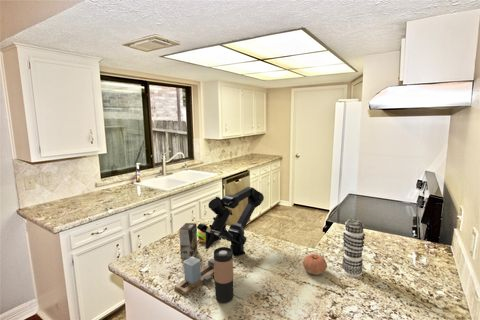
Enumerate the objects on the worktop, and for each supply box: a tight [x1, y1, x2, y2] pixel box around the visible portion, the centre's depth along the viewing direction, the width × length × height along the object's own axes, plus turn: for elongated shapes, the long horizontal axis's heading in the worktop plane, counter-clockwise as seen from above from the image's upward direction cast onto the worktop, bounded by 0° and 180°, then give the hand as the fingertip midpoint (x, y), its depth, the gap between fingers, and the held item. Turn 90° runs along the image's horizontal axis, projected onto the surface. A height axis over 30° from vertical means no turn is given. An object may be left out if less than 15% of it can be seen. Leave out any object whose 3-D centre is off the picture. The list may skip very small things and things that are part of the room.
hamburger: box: [197, 224, 214, 244], centre depth 159 cm, size 12×12×9 cm
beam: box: [174, 257, 214, 296], centre depth 119 cm, size 24×9×4 cm, turn 144°
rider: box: [183, 256, 202, 285], centre depth 116 cm, size 5×5×11 cm
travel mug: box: [213, 246, 234, 304], centre depth 105 cm, size 8×8×20 cm
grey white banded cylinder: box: [341, 218, 366, 278], centre depth 121 cm, size 9×9×25 cm
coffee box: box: [179, 222, 199, 260], centre depth 141 cm, size 9×6×16 cm
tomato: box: [302, 253, 328, 276], centre depth 123 cm, size 11×11×8 cm
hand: (206, 248), depth 122 cm, fingers closed
